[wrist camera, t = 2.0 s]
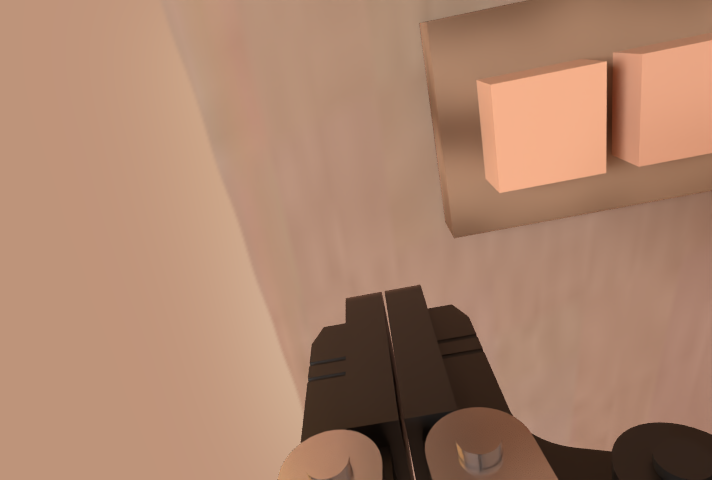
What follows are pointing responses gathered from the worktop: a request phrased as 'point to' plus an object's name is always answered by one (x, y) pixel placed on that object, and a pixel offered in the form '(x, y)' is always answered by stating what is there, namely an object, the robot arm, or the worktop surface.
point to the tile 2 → (663, 101)
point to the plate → (533, 50)
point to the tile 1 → (544, 124)
